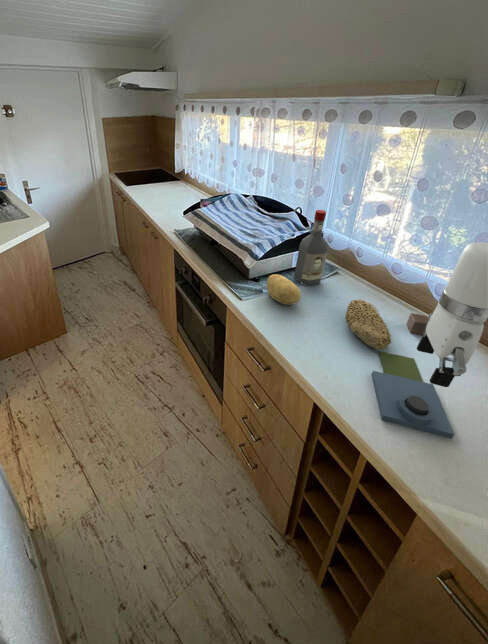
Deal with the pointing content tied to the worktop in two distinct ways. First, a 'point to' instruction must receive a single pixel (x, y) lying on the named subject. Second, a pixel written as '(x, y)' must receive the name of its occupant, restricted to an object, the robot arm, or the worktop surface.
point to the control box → (394, 409)
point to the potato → (283, 289)
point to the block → (417, 323)
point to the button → (417, 405)
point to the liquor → (312, 253)
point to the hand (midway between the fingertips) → (430, 366)
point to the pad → (400, 366)
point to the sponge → (367, 324)
